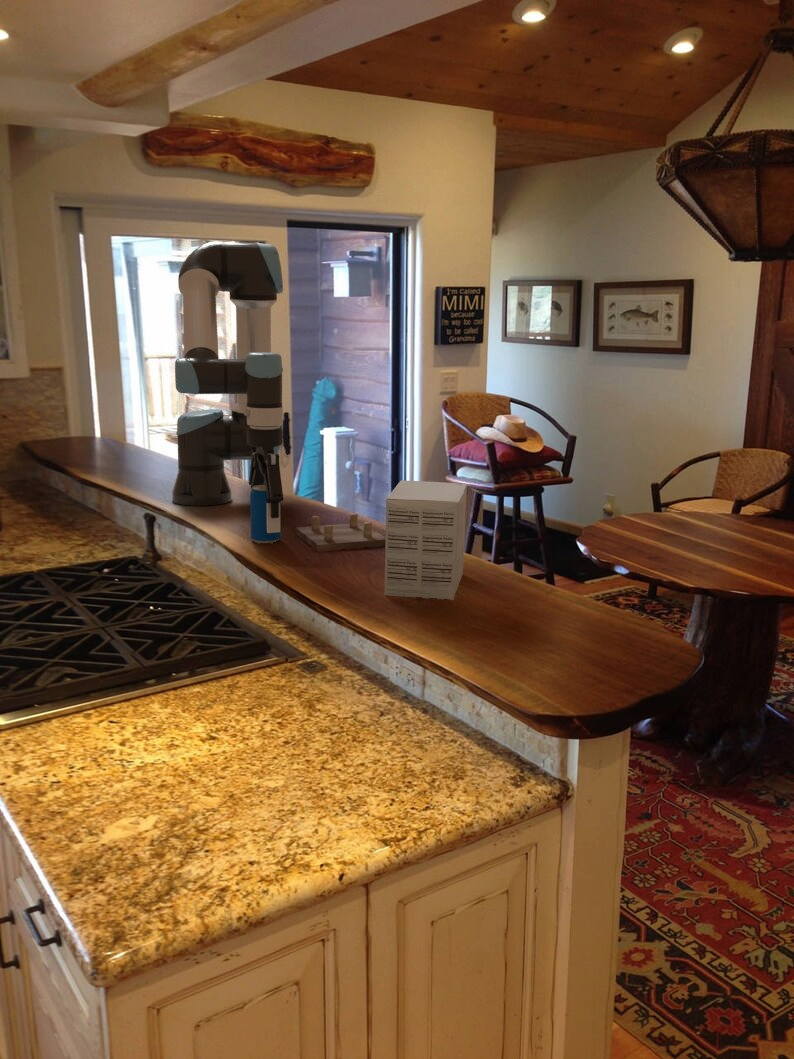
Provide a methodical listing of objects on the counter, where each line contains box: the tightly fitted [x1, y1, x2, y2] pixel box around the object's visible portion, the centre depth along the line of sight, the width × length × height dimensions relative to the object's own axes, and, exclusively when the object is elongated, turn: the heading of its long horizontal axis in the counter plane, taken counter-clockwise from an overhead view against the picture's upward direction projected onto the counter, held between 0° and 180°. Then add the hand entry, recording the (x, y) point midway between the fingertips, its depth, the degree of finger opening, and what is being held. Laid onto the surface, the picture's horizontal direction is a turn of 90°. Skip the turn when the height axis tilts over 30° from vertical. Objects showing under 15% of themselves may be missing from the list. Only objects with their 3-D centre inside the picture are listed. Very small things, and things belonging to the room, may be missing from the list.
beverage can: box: [249, 485, 282, 544], centre depth 197 cm, size 6×6×12 cm
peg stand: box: [295, 512, 386, 553], centre depth 201 cm, size 16×16×4 cm
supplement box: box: [383, 479, 468, 601], centre depth 168 cm, size 17×13×18 cm
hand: (265, 525), depth 198 cm, fingers open, 12 cm apart
